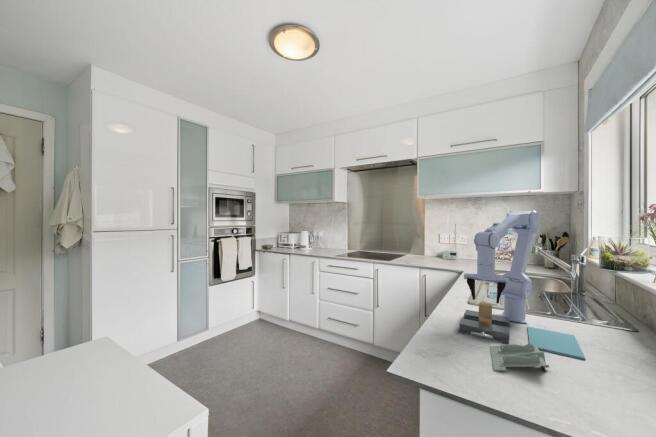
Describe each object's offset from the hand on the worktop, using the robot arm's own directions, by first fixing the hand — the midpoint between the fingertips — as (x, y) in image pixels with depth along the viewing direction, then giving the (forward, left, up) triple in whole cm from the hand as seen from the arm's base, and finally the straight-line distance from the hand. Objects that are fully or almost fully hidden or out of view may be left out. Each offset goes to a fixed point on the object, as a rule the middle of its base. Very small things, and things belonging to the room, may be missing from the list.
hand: (485, 300), depth 101 cm
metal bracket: (+22, +10, -11) cm, 26 cm away
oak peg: (0, 0, -10) cm, 10 cm away
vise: (0, 0, -10) cm, 10 cm away
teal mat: (0, +20, -10) cm, 22 cm away
